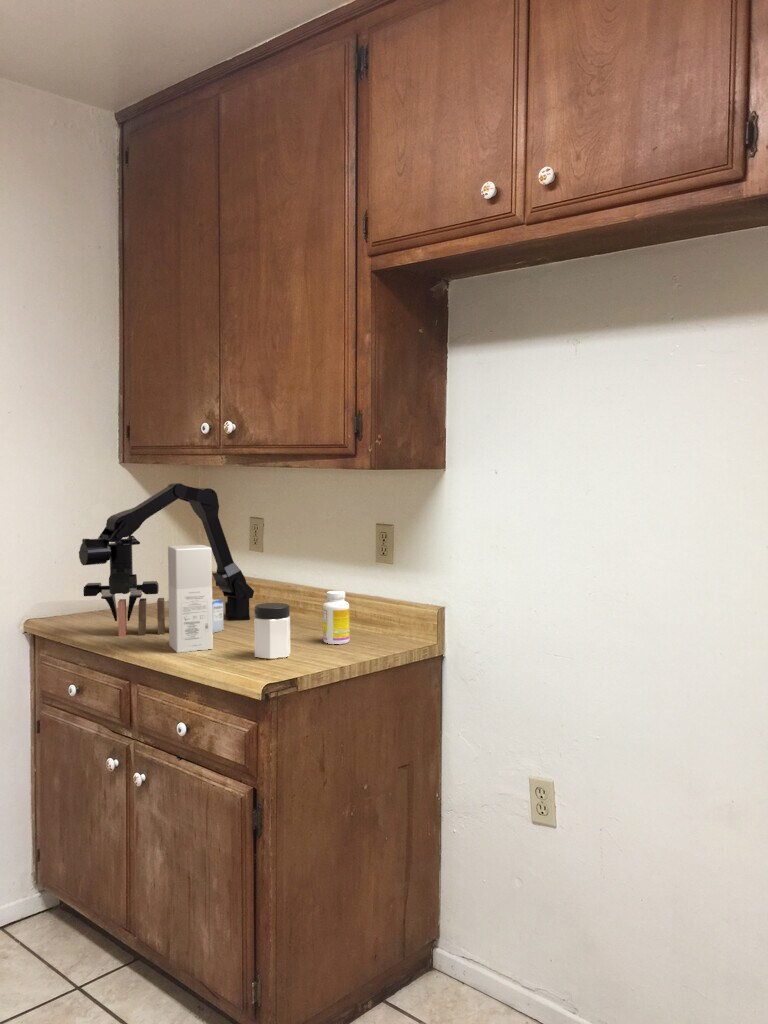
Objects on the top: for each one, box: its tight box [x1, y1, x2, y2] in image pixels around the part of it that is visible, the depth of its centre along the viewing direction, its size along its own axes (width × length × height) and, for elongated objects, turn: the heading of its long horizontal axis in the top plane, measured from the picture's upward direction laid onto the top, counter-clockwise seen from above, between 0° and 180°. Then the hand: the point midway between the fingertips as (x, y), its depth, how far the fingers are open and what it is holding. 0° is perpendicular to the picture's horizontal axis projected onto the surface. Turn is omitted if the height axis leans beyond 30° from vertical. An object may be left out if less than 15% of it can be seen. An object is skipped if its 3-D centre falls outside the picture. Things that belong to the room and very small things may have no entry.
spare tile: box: [117, 598, 128, 637], centre depth 233 cm, size 2×5×9 cm, turn 12°
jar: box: [253, 602, 291, 658], centre depth 207 cm, size 9×8×12 cm
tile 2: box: [156, 597, 166, 636], centre depth 235 cm, size 2×5×9 cm, turn 12°
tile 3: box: [137, 597, 147, 636], centre depth 234 cm, size 2×5×9 cm, turn 12°
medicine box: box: [212, 598, 224, 634], centre depth 237 cm, size 8×4×9 cm, turn 62°
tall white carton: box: [167, 544, 214, 654], centre depth 215 cm, size 9×9×25 cm
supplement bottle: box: [322, 590, 351, 645], centre depth 222 cm, size 7×7×13 cm
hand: (122, 620), depth 233 cm, fingers open, 3 cm apart
